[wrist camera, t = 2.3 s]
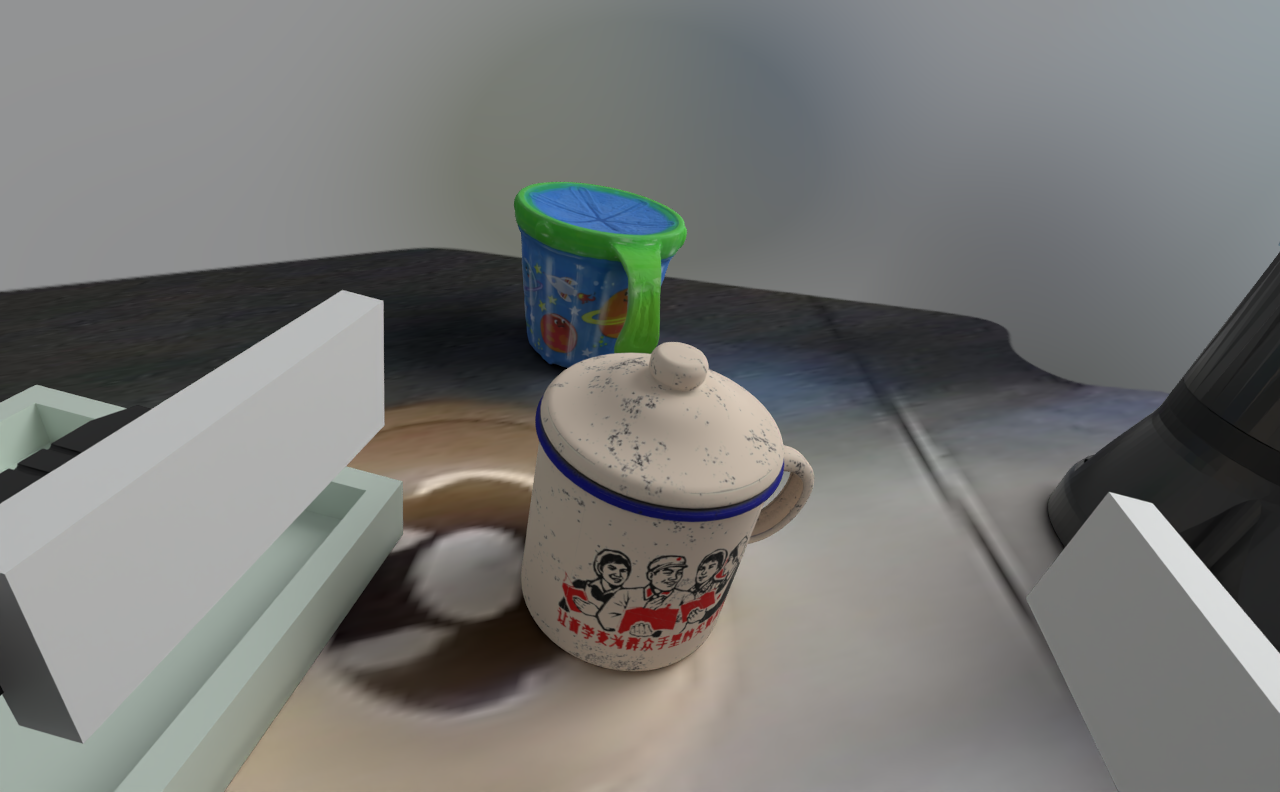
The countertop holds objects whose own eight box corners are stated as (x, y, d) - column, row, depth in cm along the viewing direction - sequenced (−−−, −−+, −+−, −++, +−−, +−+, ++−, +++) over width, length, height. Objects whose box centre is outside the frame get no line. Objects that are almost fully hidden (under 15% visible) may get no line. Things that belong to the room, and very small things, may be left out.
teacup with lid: (531, 700, 22) (577, 438, 16) (502, 517, 29) (527, 287, 23) (818, 654, 26) (942, 431, 20) (732, 503, 33) (805, 304, 27)
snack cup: (488, 297, 48) (498, 160, 43) (617, 301, 52) (641, 177, 47) (525, 416, 36) (545, 247, 31) (689, 411, 40) (732, 260, 35)
